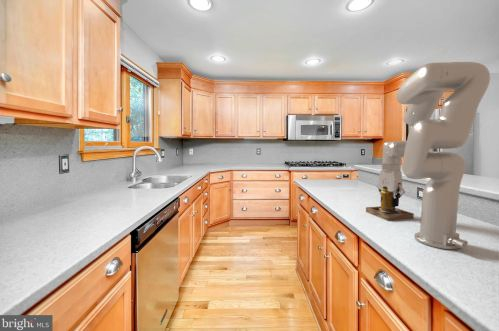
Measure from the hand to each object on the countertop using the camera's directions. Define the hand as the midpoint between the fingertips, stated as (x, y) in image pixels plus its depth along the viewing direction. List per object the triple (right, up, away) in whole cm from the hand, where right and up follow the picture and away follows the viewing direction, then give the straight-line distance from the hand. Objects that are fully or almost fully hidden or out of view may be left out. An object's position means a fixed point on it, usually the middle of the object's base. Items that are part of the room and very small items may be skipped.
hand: (389, 204), depth 110 cm
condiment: (0, -3, 0) cm, 4 cm away
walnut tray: (0, -5, +1) cm, 5 cm away
